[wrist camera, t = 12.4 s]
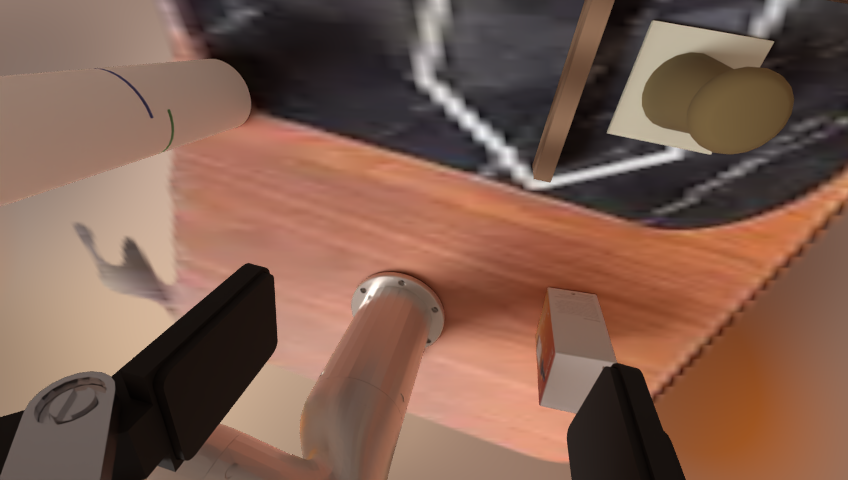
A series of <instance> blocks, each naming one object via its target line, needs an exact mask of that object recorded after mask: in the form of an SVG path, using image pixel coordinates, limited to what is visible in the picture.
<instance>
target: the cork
mask: <svg viewBox="0 0 848 480" xmlns="http://www.w3.org/2000/svg"><path fill="white" fill-rule="evenodd" d="M793 103H794V96H793V92H792V88H791V86H790V85H789V83H788V82H787V81H786V80H785V78H784V77H783V76H782V75H780V74H778V73H776V72H774V71H772V70H770V69H768V68H759V67H748V66H747V67H742V68H737V69H733V68H731V67H729V66H727V65H725V64H724V63H722V62H720V61H718V60H716V59H714V58H712V57H710V56H708V55H706V54H704V53H694V52H689V53H685V54H680V55H677V56H675V57H673V58H671V59H669V60H667V61H665V62H664V63H662V64H661V65H660V66H659V67H658V68H657V69H656V70H655V71H654V72H653V73H652V74H651V76H650V77H649V79H648V80H647V82H646V84H645V87H644V90H643V93H642V108H643V110H644V113H645V116H646V117H647V118H648V119H649V120H650V121H651V122H652V123H653V124H655V125H657V126H660V127H662V128H666V129H670V130H675V131H679V132H684V133H688V134H690V135H691V137H692V138H693V139H694V140H695V142H696V143H697V144H698V145H700V146H701V147H703V148H705V149H707V150H709V151H711V152H714V153H722V154H737V153H744V152H748V151H750V150H753V149H755V148H758V147H760V146H762V145H763V144H765V143H766V142H768V141H769V140H771V139H772V138H774V137H775V136H776V135H777V134H778V133H779V132H780V131H781V129H782V128H783V127H784V126H785V125H786V123H787V121H788V119H789V117H790V115H791V113H792V108H793Z"/></svg>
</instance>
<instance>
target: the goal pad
mask: <svg viewBox="0 0 848 480" xmlns="http://www.w3.org/2000/svg"><path fill="white" fill-rule="evenodd" d="M773 43H774V41H770V40H764V39H758V38H752V37H747V36H741V35H735V34H729V33H724V32H718V31H712V30H706V29H700V28H695V27H689V26H683V25H677V24H672V23H666V22H660V21H654V20H652V21H651V24H650V26H649V29H648V31H647V34H646V36H645V39H644V41H643V44H642V46H641V48H640V51H639V53H638V56H637V58H636V61H635V63H634V66H633V68H632V71H631V73H630V76H629V78H628V81H627V83H626V86H625V88H624V90H623V93H622V95H621V98H620V100H619V103H618V105H617V108H616V110H615V113H614V115H613V118H612V120H611V123H610V125H609V128H608V130H607V133H609V134H613V135H618V136H623V137H628V138H633V139H638V140H642V141H647V142H652V143H657V144H662V145H666V146H671V147H676V148H681V149H686V150H691V151H695V152H700V153H705V154H710V155H711V153H712V152H711V151H709V150H707V149H705V148H703V147H701V146H700V145H698V144H697V143H696V142H695V140H694V139H693V138H692V137H691V135H690V134H688V133H684V132H679V131H675V130H670V129H666V128H662V127H660V126H657V125H655V124H653V123H652V122H651V121H650V120H649V119H648V118H647V117H646V116H645V113H644V110H643V108H642V93H643V90H644V87H645V84H646V82H647V80H648V79H649V77H650V76H651V74H652V73H653V72H654V71H655V70H656V69H657V68H658V67H659V66H660V65H661V64H662V63H664V62H665V61H667V60H669V59H671V58H673V57H675V56H677V55H680V54H685V53H689V52H694V53H704V54H706V55H708V56H710V57H712V58H714V59H716V60H718V61H720V62H722V63H724V64H725V65H727V66H729V67H731V68H733V69H737V68H742V67H747V66H748V67H759V68H760V66H761V65H762V63H763V61H764V59H765V57H766V56H767V54H768V52H769V50H770V49H771V47H772V45H773Z"/></svg>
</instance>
